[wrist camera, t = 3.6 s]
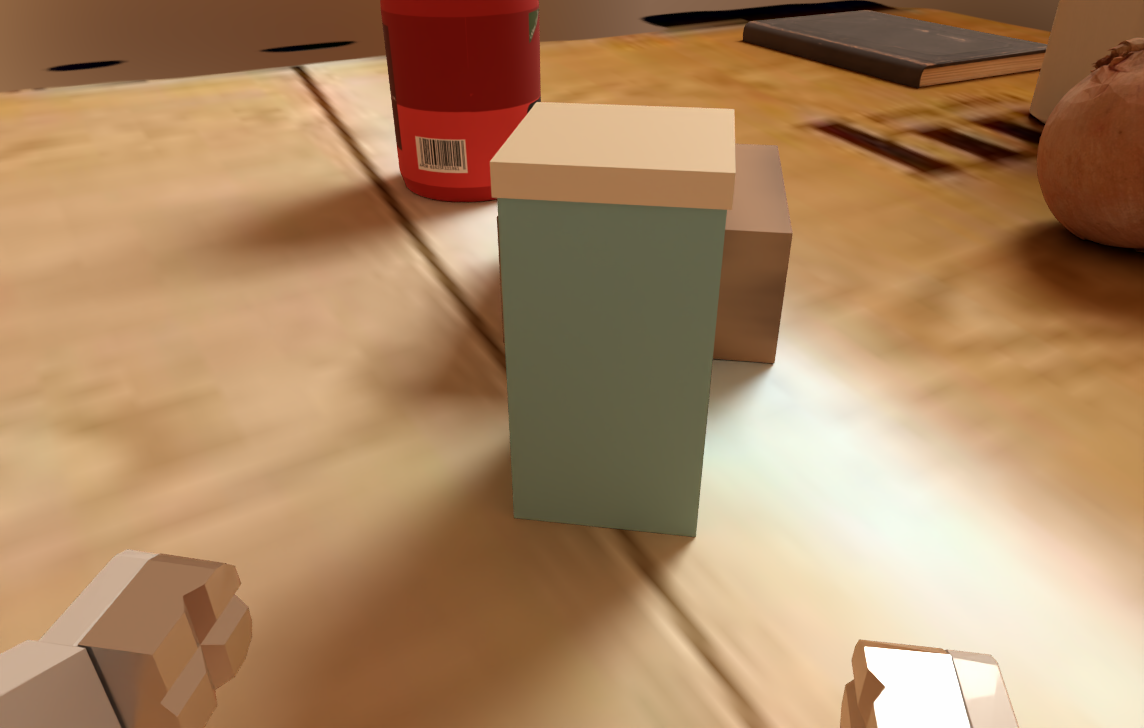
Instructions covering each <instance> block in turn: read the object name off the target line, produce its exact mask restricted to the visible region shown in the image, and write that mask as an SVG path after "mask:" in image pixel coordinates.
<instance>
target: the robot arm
mask: <svg viewBox="0 0 1144 728" xmlns="http://www.w3.org/2000/svg"><path fill="white" fill-rule="evenodd" d="M240 585H241V581H240V578H239V575H238V573H237V570H236V567H235V566H234V565H230V564H226V563H220V562H214V561H207V560H200V559H194V558H187V557H180V556H174V555H167V554H158V553H151V552H143V551H136V550H129V549H127V550H125V551H123V552H121V553H119V554H117V555H115V556H114V557H113V558H112V559H111V560H110V561H109V562H108V563H107V565H106V566H105V567H104V568H103V569H102V570H101V571H100V572H99V574H98V575H97V576H96V577H95V578H94V579H93V580H92V581H91V582H90V584H89V585H88V586H87V587H86V588H85V589H84V590H83V591H82V592H81V594H80V595H79V596H78V597H77V598H76V599H75V600H74V601H73V603H72V604H71V605H70V606H69V607H68V608H67V609H66V610H65V611H64V613H63V614H62V615H61V616H60V617H59V618H58V619H57V620H56V621H55V623H54V624H53V625H52V626H51V627H50V628H49V629H48V630H47V632H46V633H45V634H44V635H43V636H42V637H41V638H40V639H39V640H38V641H35V640H26V641H24V642H22V643H20V644H18V645H17V646H15V647H13V648H11V649H9V650H7V651H5V652H3V653H1V654H0V728H204V727H205V725H206V723H207V722H208V720H209V719H210V717H211V715H212V714H213V712H214V710H215V709H216V707H217V698H216V691H215V690H216V689H217V688H219V687H220V686H222V685H223V684H225V683H226V682H228V681H230V680H231V679H233V678H234V677H235V676H236V674H237V673H238V671H239V669H240V667H241V666H242V664H243V662H244V660H245V659H246V656H247V652H248V649H249V645H250V642H251V638H252V619H251V615H250V611H249V608H248V606H247V605H245V604H244V603H243V602H242V601H241V600H240V599H239V598H238V597H237V596H236V595H235V593H236V591H237V590H238V588H239V587H240ZM852 667H853V674H854V680H852V681H851V682H849V683H848V684H846V685H845V690H844V695H843V700H842V707H841V720H840V728H1019V726H1018V723H1017V720H1016V717H1015V714H1014V711H1013V708H1012V705H1011V702H1010V699H1009V696H1008V693H1007V690H1006V687H1005V684H1004V681H1003V678H1002V675H1001V672H1000V669H999V666H998V663H997V661H996V660H995V659H994V658H993V657H992V655H988V654H980V653H971V652H963V651H954V650H943V649H941V648H932V647H923V646H914V645H905V644H896V643H887V642H878V641H868V640H859V641H858V643H857V644H856V646H855V649H854V653H853V657H852Z"/></svg>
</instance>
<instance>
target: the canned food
mask: <svg viewBox="0 0 1144 728" xmlns="http://www.w3.org/2000/svg"><path fill="white" fill-rule="evenodd" d="M380 3H381V15H382V22H383V32H384V40H385V49H386V57H387V66H388V74H389V83H390V91H391V100H392V108H393V117H394V125H395V134H396V142H397V151H398V159H399V168H400V172H401V175H402V177H403V179H404V181H405V184H406V186H407V187H408V188H409V189H410V190H411V191H412V192H414V193H416V194H418V195H420V196H423V197H426V198H430V199H435V200H441V201H450V202H478V201H489V200H495V199H497V198H492V194H491V176H490V161H491V159H492V158H493V157H494V156H495V154H496V153H497V152H498V151H499V149H500V148H501V147H502V145H503V144H504V143H505V142H506V140H507V139H508V138H509V137H510V135H511V134H512V133H513V131H514V130H515V129H516V128H517V126H518V125H519V124H520V123H521V121H522V120H523V119H524V117H525V116H526V115H527V114H528V112H529V111H530V110H531V109H532V107H533V106H534V105H535V103H536V102H541V93H540V40H539V1H538V0H380Z"/></svg>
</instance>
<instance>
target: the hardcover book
mask: <svg viewBox="0 0 1144 728" xmlns="http://www.w3.org/2000/svg"><path fill="white" fill-rule="evenodd" d="M743 41H746V42H749V43H753V44H757V45H760V46H764V47H768V48H771V49H775V50H779V51H782V52H786V53H790V54H794V55H797V56H801V57H805V58H808V59H812V60H816V61H819V62H823V63H827V64H830V65H834V66H838V67H841V68H845V69H849V70H852V71H856V72H860V73H864V74H867V75H871V76H875V77H878V78H882V79H886V80H889V81H893V82H897V83H900V84H904V85H908V86H911V87H915V88H919V87H921V86H928V85H935V84H942V83H948V82H955V81H962V80H969V79H976V78H983V77H989V76H996V75H1003V74H1010V73H1017V72H1023V71H1030V70H1037V69H1041V67H1042V63H1043V59H1044V56H1045V52H1046V48H1047V45H1046V44H1041V43H1036V42H1031V41H1025V40H1020V39H1015V38H1010V37H1004V36H999V35H994V34H989V33H984V32H978V31H973V30H968V29H963V28H957V27H952V26H947V25H942V24H936V23H931V22H926V21H921V20H915V19H910V18H905V17H900V16H894V15H889V14H884V13H879V12H873V11H868V10H863V11H853V12H842V13H832V14H822V15H812V16H801V17H791V18H781V19H771V20H760V21H750V22H748V23H747V24H746V25H745V27H744V32H743Z"/></svg>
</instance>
